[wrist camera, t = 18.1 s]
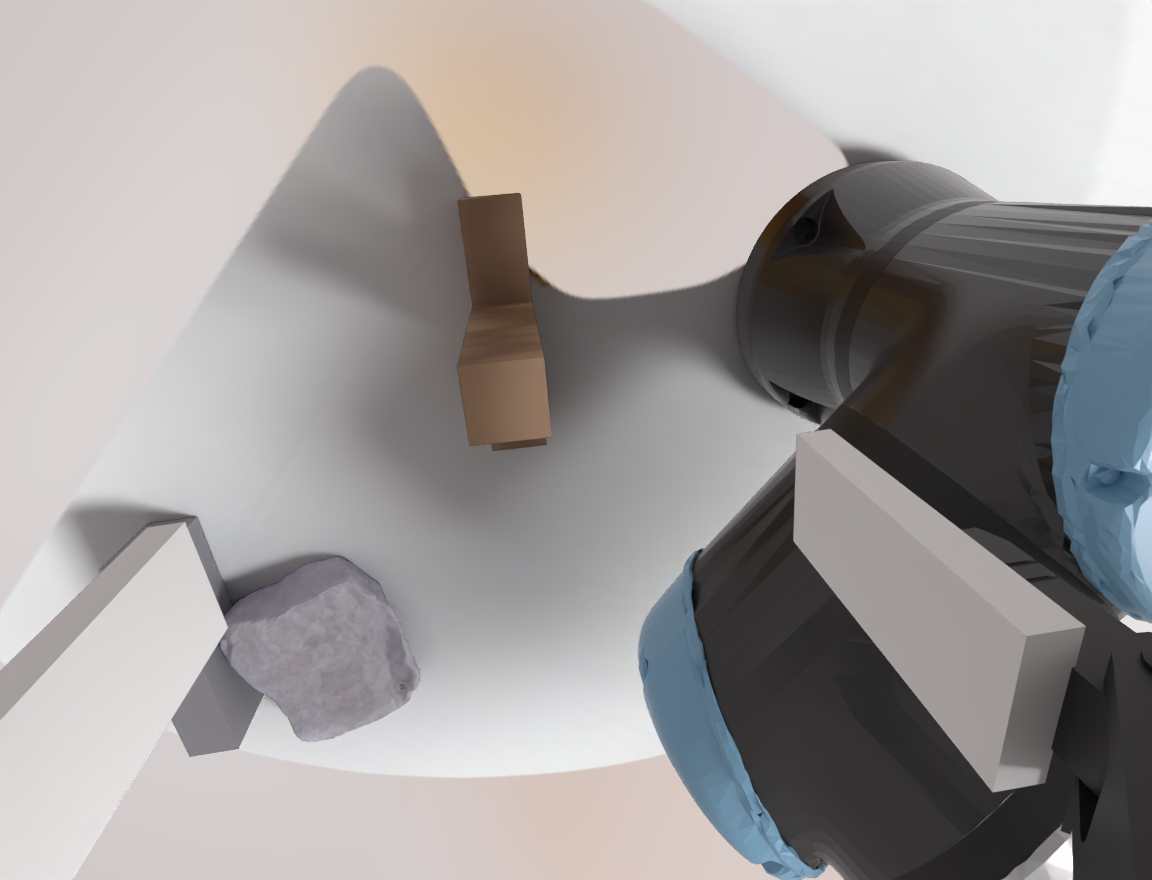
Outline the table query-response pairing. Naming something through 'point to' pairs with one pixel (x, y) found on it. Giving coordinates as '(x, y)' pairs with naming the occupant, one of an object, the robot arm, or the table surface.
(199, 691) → the block
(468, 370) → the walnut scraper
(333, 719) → the stone block
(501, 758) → the table surface
